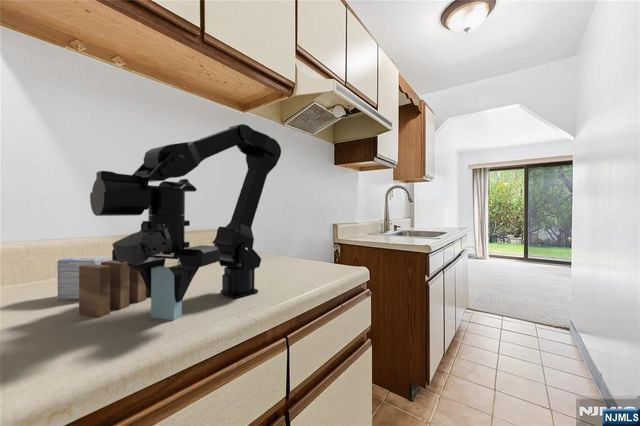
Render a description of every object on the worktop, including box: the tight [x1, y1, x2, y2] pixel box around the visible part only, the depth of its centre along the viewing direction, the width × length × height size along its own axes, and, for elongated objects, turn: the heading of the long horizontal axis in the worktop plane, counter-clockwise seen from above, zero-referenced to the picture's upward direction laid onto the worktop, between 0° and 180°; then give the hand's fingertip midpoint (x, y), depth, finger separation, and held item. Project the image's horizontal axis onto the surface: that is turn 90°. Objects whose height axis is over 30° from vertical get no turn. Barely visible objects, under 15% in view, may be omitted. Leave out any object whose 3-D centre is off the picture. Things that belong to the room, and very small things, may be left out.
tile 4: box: [101, 259, 130, 311], centre depth 52 cm, size 2×5×9 cm, turn 77°
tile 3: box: [129, 262, 147, 304], centre depth 56 cm, size 2×5×9 cm, turn 77°
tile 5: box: [78, 264, 111, 318], centre depth 48 cm, size 2×5×9 cm, turn 77°
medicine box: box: [56, 255, 111, 300], centre depth 57 cm, size 8×4×9 cm, turn 92°
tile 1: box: [150, 265, 183, 321], centre depth 48 cm, size 2×5×9 cm, turn 76°
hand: (166, 300), depth 48 cm, fingers closed on tile 1, 5 cm apart
